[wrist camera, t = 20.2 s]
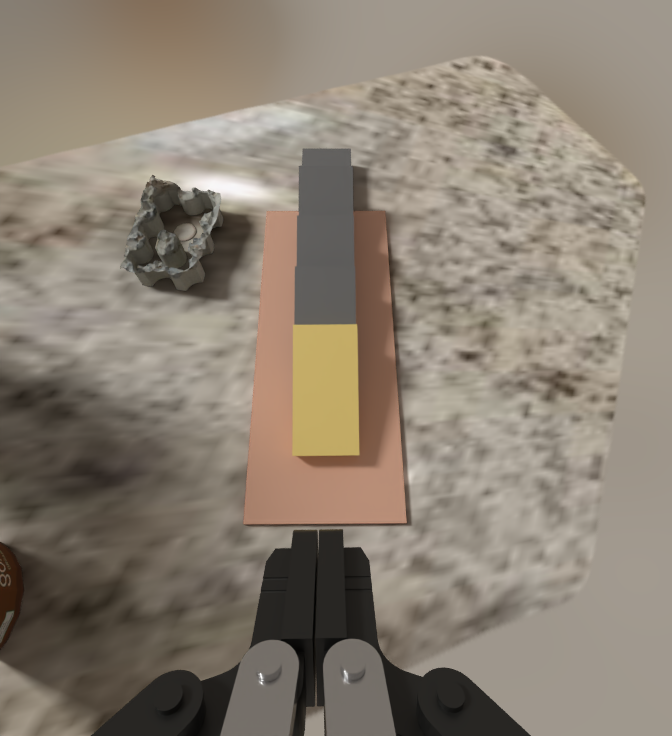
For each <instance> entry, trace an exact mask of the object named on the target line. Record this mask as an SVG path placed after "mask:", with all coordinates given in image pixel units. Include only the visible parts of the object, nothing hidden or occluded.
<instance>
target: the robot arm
mask: <svg viewBox="0 0 672 736" xmlns="http://www.w3.org/2000/svg"><path fill="white" fill-rule="evenodd" d="M316 676H317V706H324V729H325V736H531V735H529V734H528V733H527V732H526V731H525V730H524V729H523V728H522V727H521V726H520V725H519V724H517V722H515V721H514V720H513V719H512V718H511V717H510V716H509V715H508V714H507V713H506V712H505V711H504V710H503V709H501V708H500V707H499V706H498V705H497V704H496V703H495V702H494V701H493V700H492V699H490V697H489V696H487V695H486V694H485V693H484V692H483V691H482V690H481V689H480V688H479V687H478V686H477V685H476V684H474V683H473V682H472V681H471V680H470V679H469V678H468V677H467V676H465V675H464V674H462V673H461V672H459V671H456V670H454V669H450V668H436V669H433V670H431V671H429V672H428V673H426V674H425V675H424V677H421V676H418V675H415V674H412V673H409V672H406V671H403V670H401V669H399V668H397V667H396V666H394V665H393V664H392V663H390V662H389V661H388V660H387V659H386V657H385V656H384V655H383V653H382V651H381V649H380V647H379V644H378V639H377V630H376V621H375V611H374V602H373V592H372V583H371V574H370V564H369V560H368V558H367V556H366V555H365V553H364V552H363V550H362V549H361V547H353V548H344V546H343V529H330V530H319V551H318V531H317V530H294V531H293V538H292V546H291V548H281V549H275V550H274V551H273V553H272V554H271V556H270V557H269V559H268V560H267V561H266V565H265V571H264V576H263V582H262V587H261V593H260V599H259V604H258V610H257V615H256V621H255V626H254V632H253V637H252V642H251V646H250V648H249V650H248V651H247V653H246V654H245V655H244V657H243V659H242V660H241V662H240V663H239V664H238V665H236V666H235V667H234V668H232V669H231V670H229V671H227V672H225V673H223V674H220V675H217V676H215V677H212V678H209V679H206V680H203V681H200V680H199V678H198V677H197V676H196V675H195V674H193V673H191V672H189V671H185V670H176V671H171V672H168V673H165V674H163V675H161V676H160V677H158V678H156V679H155V680H154V681H153V682H151V683H150V684H149V685H148V686H147V687H146V688H145V689H143V690H142V691H141V692H140V693H139V694H138V695H137V696H135V697H134V698H133V699H132V700H131V701H130V702H129V703H128V704H126V705H125V706H124V707H123V708H122V709H121V710H120V711H118V712H117V713H116V714H115V715H114V716H113V717H112V718H111V719H109V720H108V721H107V722H106V723H105V724H104V725H103V726H101V727H100V728H99V729H98V730H97V731H96V732H95V733H94V734H92V735H91V736H304V731H305V715H306V707H315V682H316Z"/></svg>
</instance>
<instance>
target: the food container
mask: <svg viewBox="0 0 672 736" xmlns="http://www.w3.org/2000/svg"><path fill="white" fill-rule="evenodd" d="M23 593H24V584H23V576H22V568H21V566H20V564H19V562H18V560H17V558H16V556H15V555H14V553H13V552H12V551H11V550H10V549H9V548H8V547H7V546H5V545H4V544H2V543H1V542H0V650H1V648H2V647H3V646H4V644H5V643H6V642H7V640H8V638H9V636H10V634H11V632H12V630H13V628H14V625H15V623H16V621H17V619H18V617H19V614H20V610H21V604H22V599H23Z"/></svg>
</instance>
